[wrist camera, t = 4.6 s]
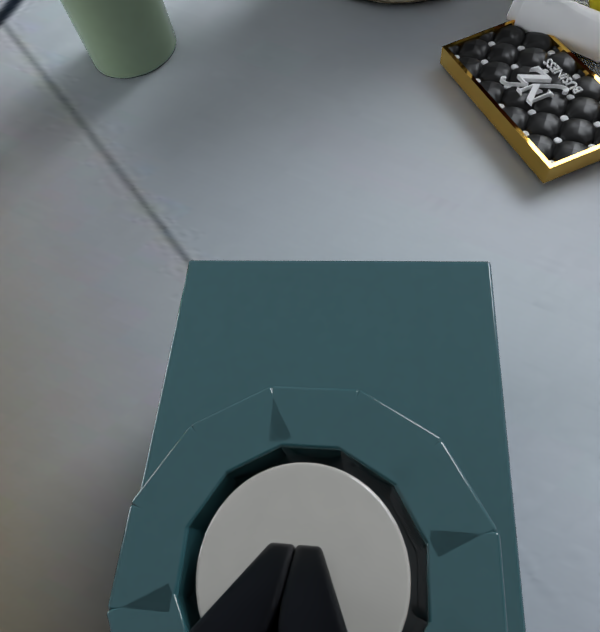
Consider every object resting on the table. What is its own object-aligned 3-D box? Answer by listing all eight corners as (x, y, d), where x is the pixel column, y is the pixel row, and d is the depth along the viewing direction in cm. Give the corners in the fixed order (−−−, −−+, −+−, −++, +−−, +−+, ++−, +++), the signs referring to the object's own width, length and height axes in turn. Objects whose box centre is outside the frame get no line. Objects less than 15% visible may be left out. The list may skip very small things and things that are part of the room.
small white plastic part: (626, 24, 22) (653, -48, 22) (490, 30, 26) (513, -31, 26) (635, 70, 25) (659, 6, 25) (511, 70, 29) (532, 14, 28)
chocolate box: (654, 123, 22) (551, 165, 22) (642, 143, 23) (543, 183, 22) (530, 9, 26) (442, 42, 26) (524, 30, 27) (440, 62, 27)
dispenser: (472, 724, 15) (590, 884, 7) (195, 688, 16) (17, 788, 8) (453, 365, 19) (509, 210, 12) (243, 358, 21) (163, 213, 13)
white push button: (405, 695, 9) (413, 721, 8) (211, 671, 10) (175, 689, 8) (403, 487, 11) (410, 467, 9) (237, 476, 12) (212, 455, 10)
